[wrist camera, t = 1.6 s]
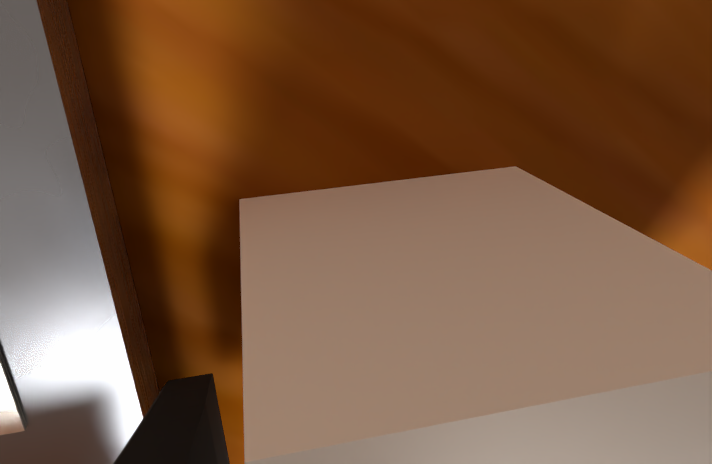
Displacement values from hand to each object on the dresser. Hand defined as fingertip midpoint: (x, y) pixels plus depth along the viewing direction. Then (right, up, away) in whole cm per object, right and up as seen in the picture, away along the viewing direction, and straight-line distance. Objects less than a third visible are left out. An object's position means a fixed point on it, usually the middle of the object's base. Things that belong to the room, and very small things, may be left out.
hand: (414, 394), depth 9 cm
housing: (0, +1, +1) cm, 2 cm away
